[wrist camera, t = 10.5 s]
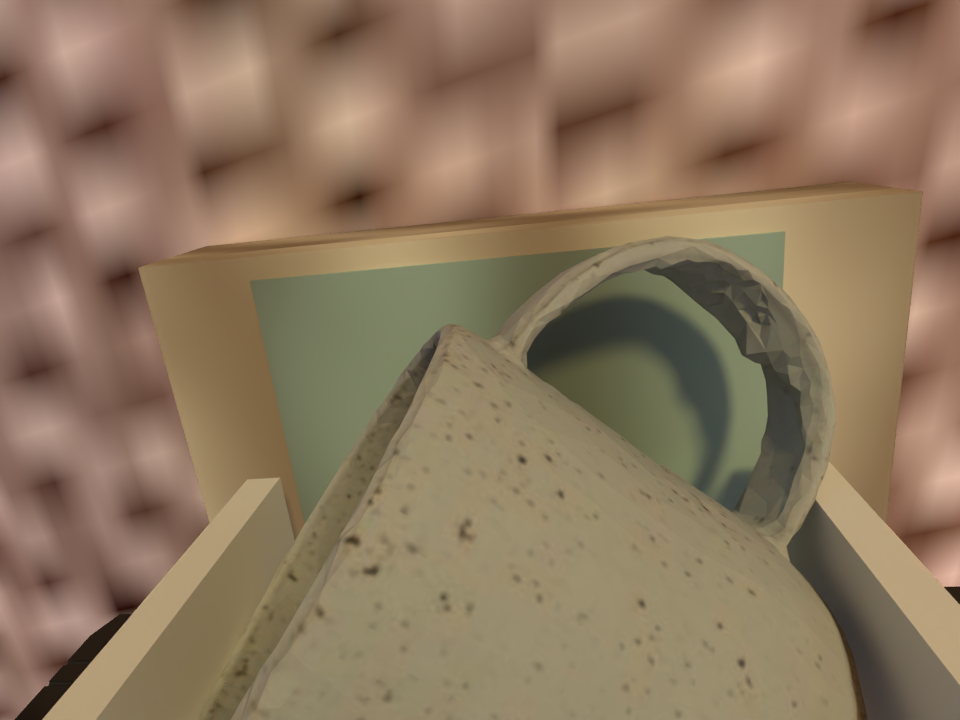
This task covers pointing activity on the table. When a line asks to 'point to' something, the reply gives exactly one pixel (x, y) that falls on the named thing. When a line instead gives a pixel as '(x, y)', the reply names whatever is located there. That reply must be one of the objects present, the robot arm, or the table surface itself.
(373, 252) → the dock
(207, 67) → the table surface
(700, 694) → the ceramic mug
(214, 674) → the robot arm
